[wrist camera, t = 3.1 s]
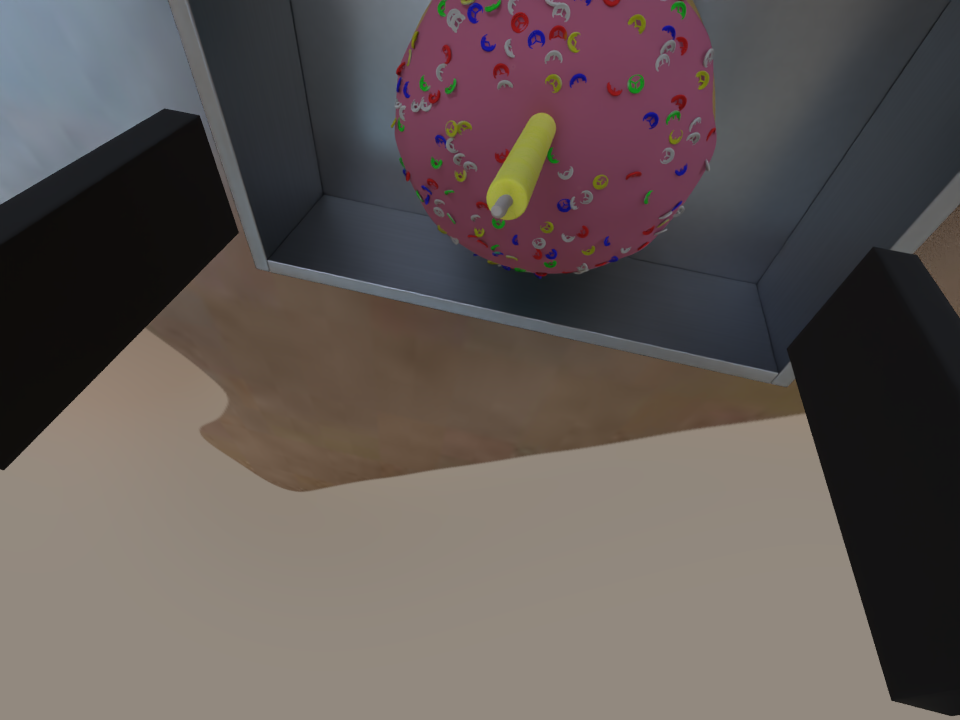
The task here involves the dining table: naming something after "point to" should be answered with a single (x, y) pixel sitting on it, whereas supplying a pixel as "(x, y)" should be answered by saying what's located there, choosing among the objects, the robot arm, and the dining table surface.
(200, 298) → the dining table surface
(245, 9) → the open rectangular bin
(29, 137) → the dining table surface
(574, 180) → the cupcake
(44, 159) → the dining table surface
